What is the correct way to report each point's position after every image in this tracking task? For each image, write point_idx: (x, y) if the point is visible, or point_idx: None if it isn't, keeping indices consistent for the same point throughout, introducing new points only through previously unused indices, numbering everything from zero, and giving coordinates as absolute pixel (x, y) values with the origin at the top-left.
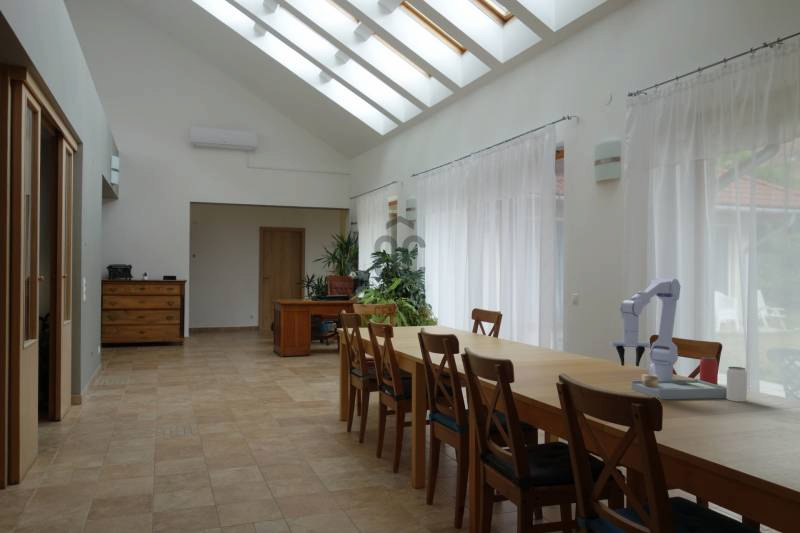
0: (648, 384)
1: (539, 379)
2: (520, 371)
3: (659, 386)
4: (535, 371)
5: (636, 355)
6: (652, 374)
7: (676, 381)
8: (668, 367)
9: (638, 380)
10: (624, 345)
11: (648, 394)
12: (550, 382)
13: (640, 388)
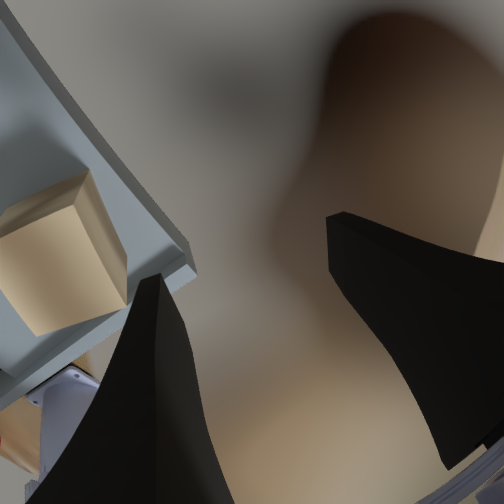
0: (59, 187)
1: (497, 242)
2: None
3: None
4: None
5: (205, 440)
6: (48, 327)
7: (3, 391)
8: (45, 463)
9: None
10: (490, 473)
11: (64, 90)
12: (491, 208)
13: (123, 173)
